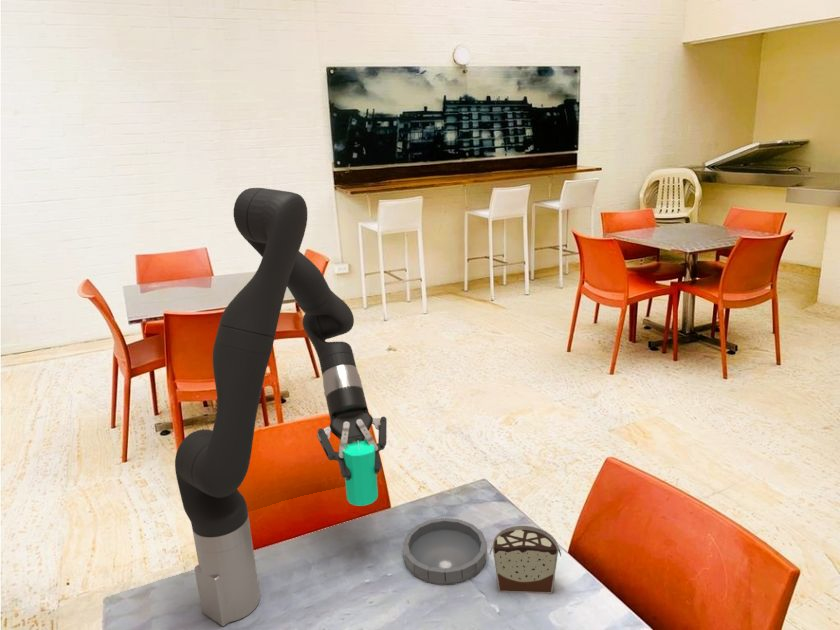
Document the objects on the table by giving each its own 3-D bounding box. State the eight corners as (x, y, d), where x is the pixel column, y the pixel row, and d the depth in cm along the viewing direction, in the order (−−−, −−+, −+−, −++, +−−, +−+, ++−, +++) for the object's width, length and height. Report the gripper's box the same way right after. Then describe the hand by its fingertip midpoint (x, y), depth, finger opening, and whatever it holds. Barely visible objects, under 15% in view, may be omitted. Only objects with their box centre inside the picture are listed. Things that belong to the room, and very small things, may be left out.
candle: (358, 510, 110) (354, 452, 107) (340, 496, 115) (335, 440, 111) (384, 496, 114) (380, 440, 111) (365, 484, 118) (361, 430, 115)
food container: (556, 570, 111) (557, 524, 108) (560, 594, 105) (561, 546, 103) (490, 568, 113) (489, 522, 110) (490, 592, 107) (489, 544, 104)
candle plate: (458, 597, 106) (457, 584, 105) (387, 564, 115) (386, 551, 114) (501, 547, 118) (500, 535, 117) (434, 521, 127) (434, 509, 126)
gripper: (309, 391, 113) (326, 479, 106) (381, 378, 118) (403, 462, 110) (307, 405, 119) (323, 489, 112) (376, 393, 124) (396, 473, 116)
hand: (362, 475), depth 111 cm, fingers closed on candle, 5 cm apart
